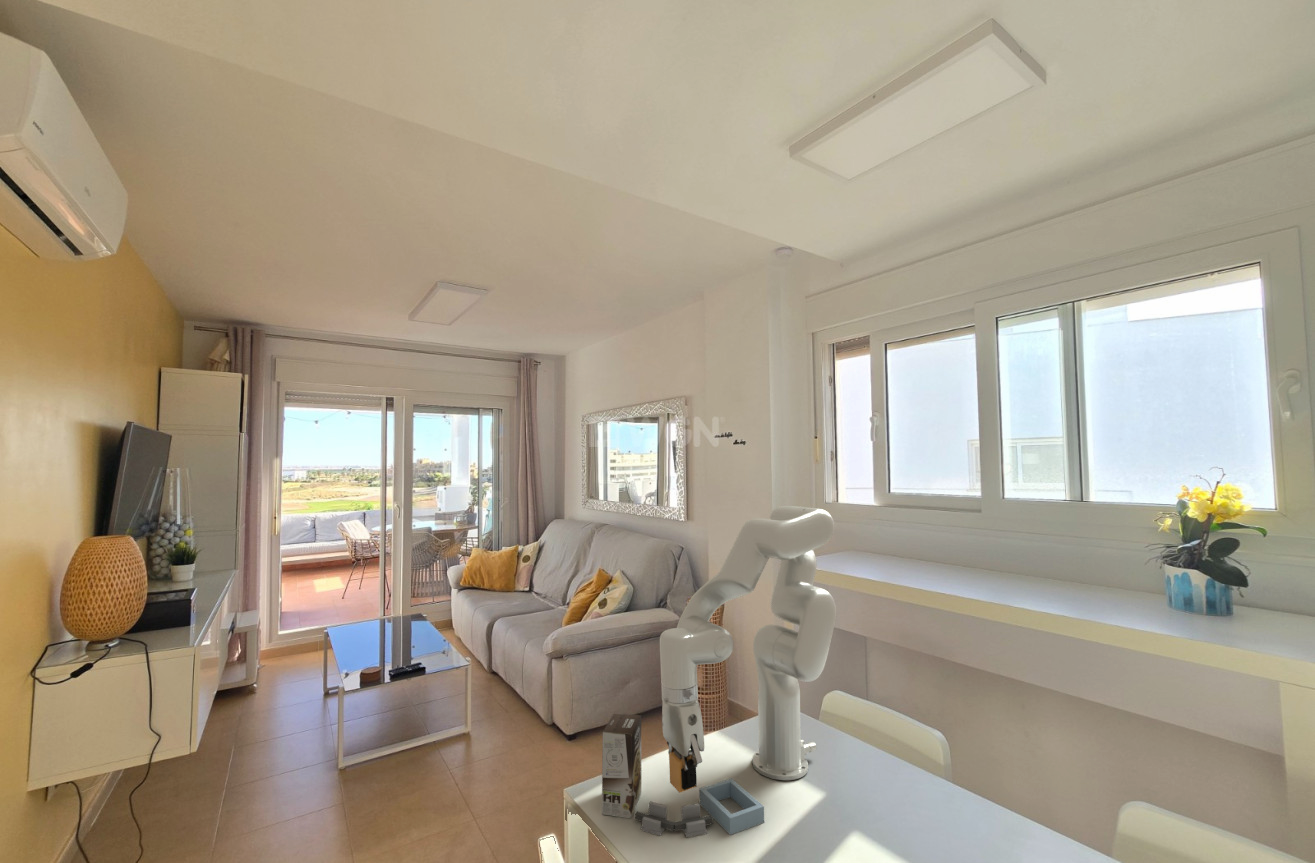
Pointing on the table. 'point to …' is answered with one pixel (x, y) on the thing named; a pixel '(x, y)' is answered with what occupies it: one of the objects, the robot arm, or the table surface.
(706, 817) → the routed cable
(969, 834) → the table surface
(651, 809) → the clip
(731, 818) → the frame
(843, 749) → the table surface
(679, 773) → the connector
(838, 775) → the table surface
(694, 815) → the clip
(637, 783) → the coffee box
